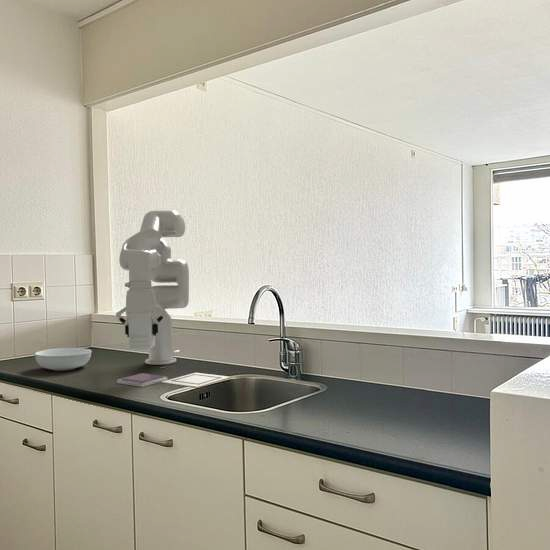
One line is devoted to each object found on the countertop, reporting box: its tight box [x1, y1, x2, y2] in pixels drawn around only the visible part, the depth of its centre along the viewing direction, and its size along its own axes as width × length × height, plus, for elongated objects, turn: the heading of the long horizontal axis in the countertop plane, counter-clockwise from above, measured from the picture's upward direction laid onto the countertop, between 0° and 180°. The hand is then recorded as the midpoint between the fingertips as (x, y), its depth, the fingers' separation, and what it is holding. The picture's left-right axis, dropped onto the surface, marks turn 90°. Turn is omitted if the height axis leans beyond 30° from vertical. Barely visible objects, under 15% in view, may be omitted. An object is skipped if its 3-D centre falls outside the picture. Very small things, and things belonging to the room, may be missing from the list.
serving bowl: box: [34, 347, 92, 372], centre depth 225 cm, size 21×21×7 cm
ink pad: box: [116, 373, 168, 388], centre depth 198 cm, size 12×12×2 cm
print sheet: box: [160, 372, 231, 389], centre depth 199 cm, size 18×16×1 cm
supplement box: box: [128, 312, 155, 350], centre depth 198 cm, size 7×7×13 cm
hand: (141, 335), depth 198 cm, fingers closed on supplement box, 8 cm apart
